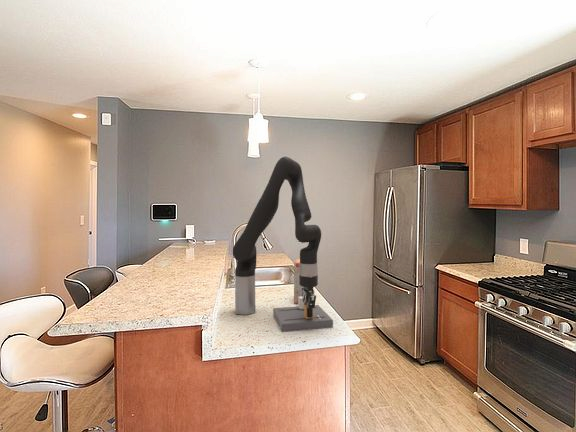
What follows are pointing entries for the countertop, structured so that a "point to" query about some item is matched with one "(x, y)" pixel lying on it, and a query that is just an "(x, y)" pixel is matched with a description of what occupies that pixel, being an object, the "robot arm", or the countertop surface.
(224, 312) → the countertop surface
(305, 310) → the block
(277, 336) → the countertop surface
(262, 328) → the countertop surface
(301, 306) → the white fader
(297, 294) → the cracker box
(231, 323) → the countertop surface
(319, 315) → the mixer console
